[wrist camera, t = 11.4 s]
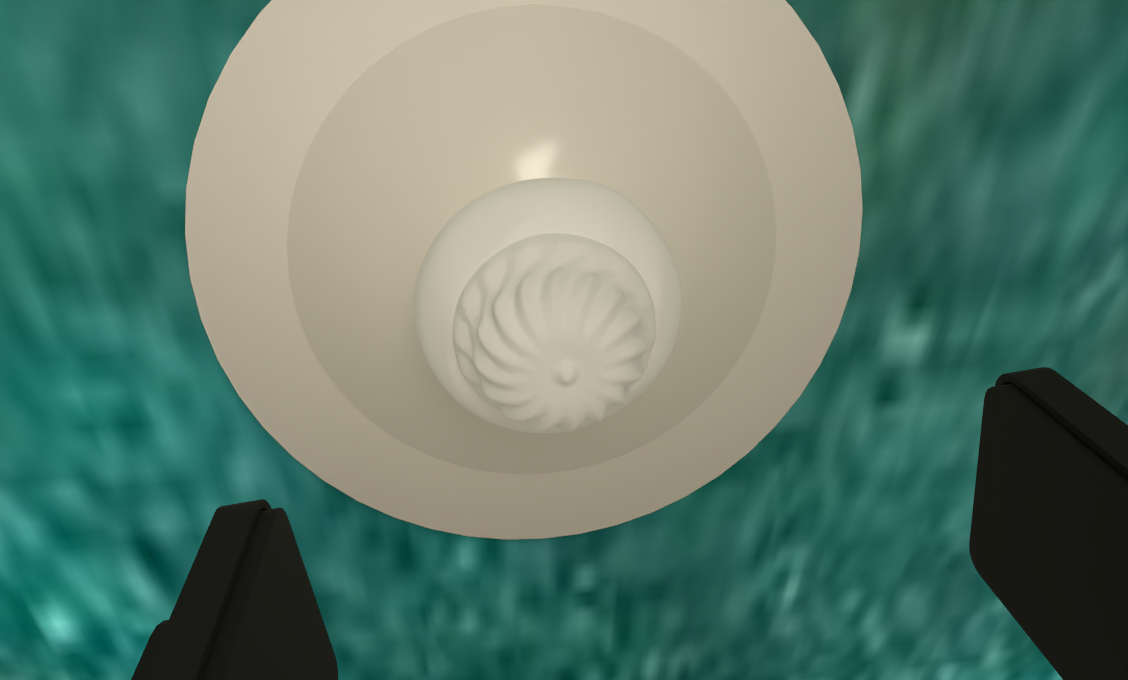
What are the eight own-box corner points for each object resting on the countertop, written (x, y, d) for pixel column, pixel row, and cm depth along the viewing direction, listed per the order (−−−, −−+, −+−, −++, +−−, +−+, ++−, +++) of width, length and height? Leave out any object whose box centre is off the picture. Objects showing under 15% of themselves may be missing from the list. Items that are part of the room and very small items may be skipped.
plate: (849, -161, 21) (871, -168, 20) (845, 465, 28) (861, 485, 27) (91, -52, 20) (70, -54, 19) (297, 565, 27) (291, 591, 26)
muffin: (584, 396, 25) (630, 550, 18) (383, 316, 23) (355, 455, 17) (691, 205, 23) (784, 303, 16) (479, 101, 21) (490, 165, 15)
